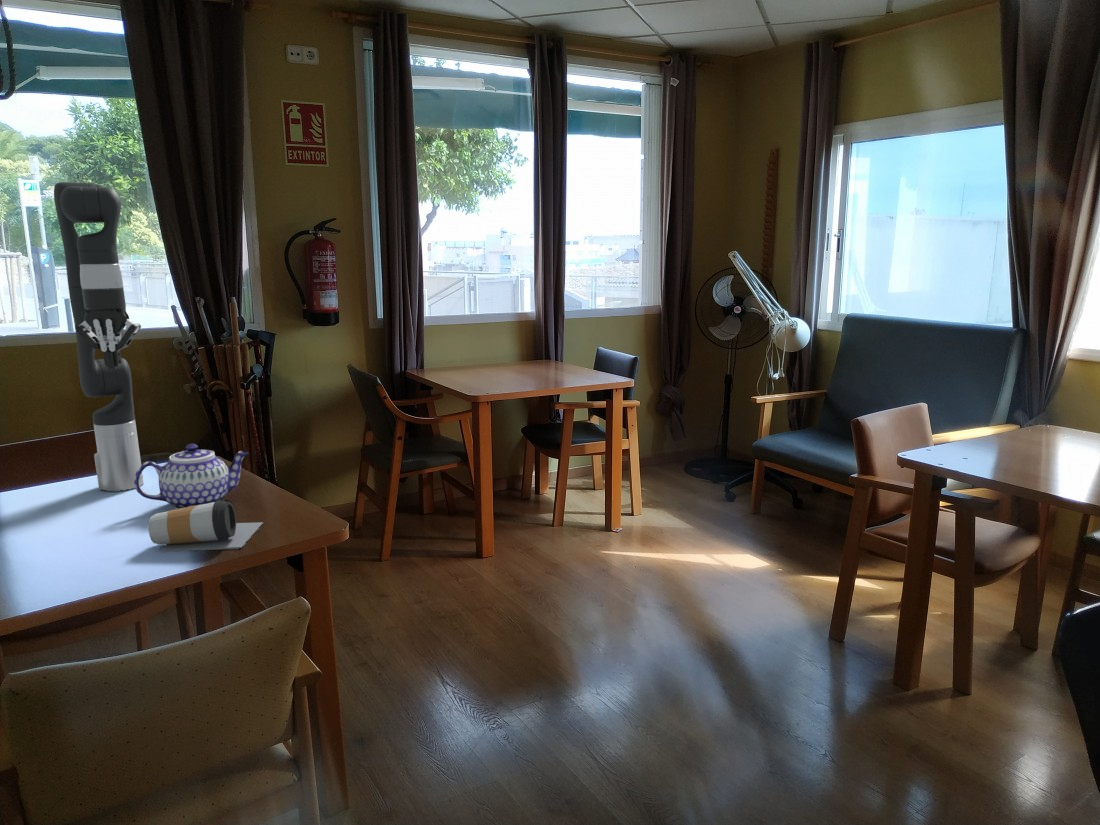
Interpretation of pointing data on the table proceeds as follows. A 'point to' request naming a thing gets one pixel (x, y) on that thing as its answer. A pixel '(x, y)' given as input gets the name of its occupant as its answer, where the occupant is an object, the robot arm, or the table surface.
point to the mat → (234, 542)
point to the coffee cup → (194, 524)
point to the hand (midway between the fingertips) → (113, 368)
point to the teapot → (193, 477)
